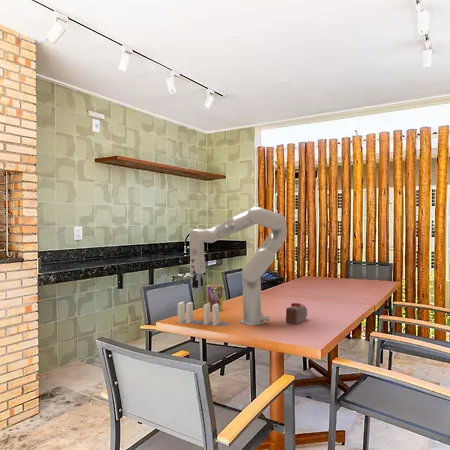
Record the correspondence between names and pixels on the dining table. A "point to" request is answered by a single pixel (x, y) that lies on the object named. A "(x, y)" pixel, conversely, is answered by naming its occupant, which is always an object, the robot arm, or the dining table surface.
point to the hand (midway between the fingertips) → (197, 286)
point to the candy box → (215, 296)
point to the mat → (207, 324)
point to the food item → (296, 313)
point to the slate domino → (198, 284)
